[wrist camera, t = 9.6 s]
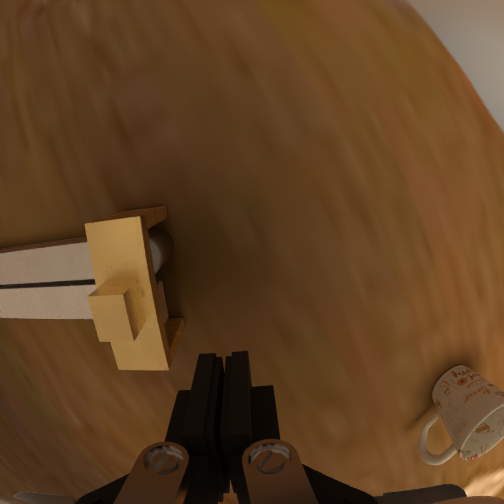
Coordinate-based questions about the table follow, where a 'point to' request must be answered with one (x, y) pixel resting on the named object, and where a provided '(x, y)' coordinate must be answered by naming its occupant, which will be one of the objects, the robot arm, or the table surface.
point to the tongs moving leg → (55, 299)
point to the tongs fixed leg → (66, 259)
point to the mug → (465, 415)
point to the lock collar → (130, 291)
